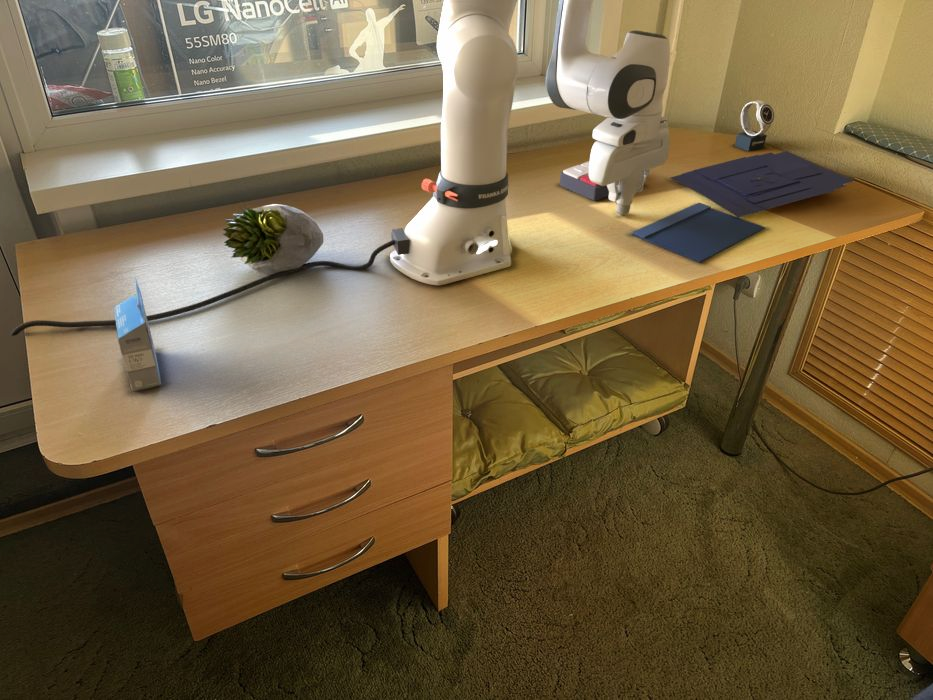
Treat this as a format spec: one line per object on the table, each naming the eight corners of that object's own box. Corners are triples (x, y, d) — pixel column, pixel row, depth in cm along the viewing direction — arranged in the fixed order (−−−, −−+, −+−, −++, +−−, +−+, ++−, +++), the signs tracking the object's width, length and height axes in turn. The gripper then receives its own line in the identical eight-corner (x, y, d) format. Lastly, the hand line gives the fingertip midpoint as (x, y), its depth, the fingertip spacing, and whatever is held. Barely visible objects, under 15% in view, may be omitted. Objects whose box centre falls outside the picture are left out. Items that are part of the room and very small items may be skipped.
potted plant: (335, 254, 119) (258, 261, 108) (296, 282, 128) (220, 291, 117) (312, 187, 120) (233, 188, 109) (274, 220, 129) (197, 223, 118)
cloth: (699, 263, 125) (700, 259, 125) (631, 235, 134) (632, 231, 134) (764, 228, 137) (765, 225, 137) (698, 205, 146) (698, 202, 146)
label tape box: (127, 357, 100) (102, 280, 93) (158, 351, 101) (136, 274, 94) (131, 392, 93) (105, 312, 86) (164, 385, 94) (141, 305, 87)
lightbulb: (637, 222, 139) (646, 168, 133) (606, 219, 140) (613, 165, 134) (637, 210, 144) (646, 157, 138) (607, 207, 145) (614, 155, 139)
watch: (754, 153, 173) (765, 107, 167) (729, 144, 179) (739, 99, 173) (770, 149, 176) (781, 104, 169) (744, 140, 181) (754, 96, 175)
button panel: (559, 169, 152) (608, 152, 160) (558, 188, 155) (607, 170, 162) (596, 184, 145) (646, 166, 152) (594, 204, 148) (643, 185, 155)
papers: (859, 196, 147) (863, 179, 145) (737, 230, 141) (739, 213, 138) (779, 160, 166) (781, 144, 164) (667, 188, 160) (669, 173, 157)
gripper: (655, 111, 139) (644, 178, 147) (586, 131, 128) (579, 203, 136) (682, 118, 135) (670, 187, 143) (614, 140, 124) (604, 213, 132)
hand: (625, 195), depth 139 cm, fingers closed on lightbulb, 6 cm apart
